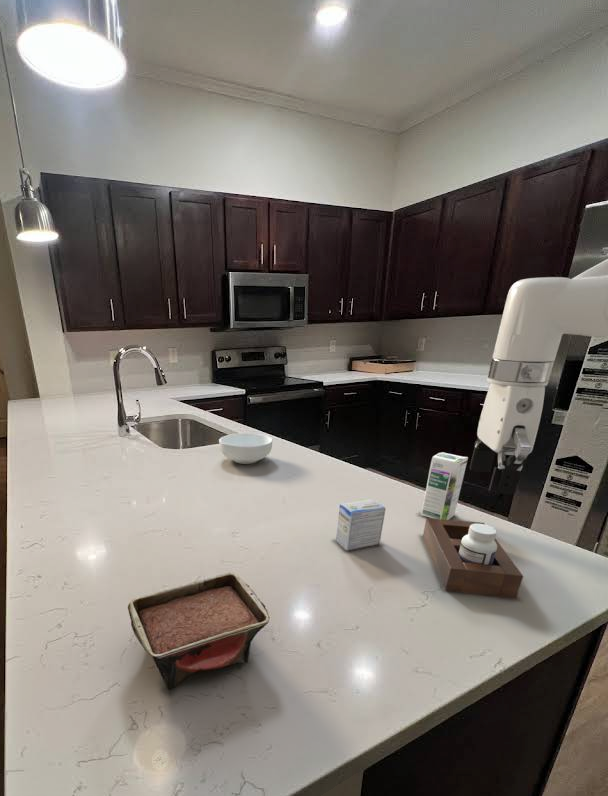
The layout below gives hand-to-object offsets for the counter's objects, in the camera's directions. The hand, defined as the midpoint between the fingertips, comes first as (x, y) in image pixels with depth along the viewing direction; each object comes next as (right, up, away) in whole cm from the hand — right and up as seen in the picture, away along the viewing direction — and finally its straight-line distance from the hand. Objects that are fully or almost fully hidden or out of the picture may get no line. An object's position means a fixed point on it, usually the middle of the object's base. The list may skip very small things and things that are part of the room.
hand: (489, 481), depth 68 cm
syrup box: (+7, -7, +30) cm, 31 cm away
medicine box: (-16, -12, +18) cm, 27 cm away
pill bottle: (+1, -17, +7) cm, 19 cm away
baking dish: (-47, -24, -8) cm, 53 cm away
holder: (+2, -15, +11) cm, 19 cm away
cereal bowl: (-36, +9, +68) cm, 77 cm away
